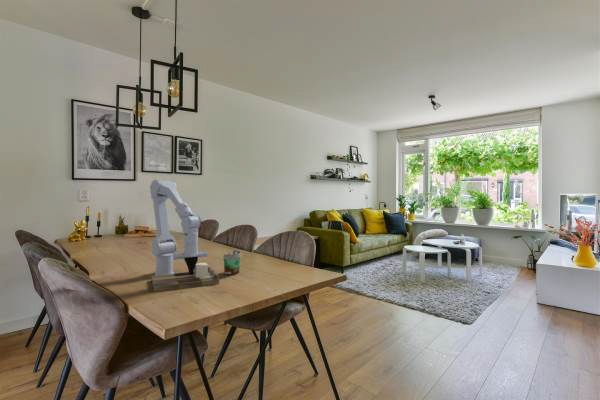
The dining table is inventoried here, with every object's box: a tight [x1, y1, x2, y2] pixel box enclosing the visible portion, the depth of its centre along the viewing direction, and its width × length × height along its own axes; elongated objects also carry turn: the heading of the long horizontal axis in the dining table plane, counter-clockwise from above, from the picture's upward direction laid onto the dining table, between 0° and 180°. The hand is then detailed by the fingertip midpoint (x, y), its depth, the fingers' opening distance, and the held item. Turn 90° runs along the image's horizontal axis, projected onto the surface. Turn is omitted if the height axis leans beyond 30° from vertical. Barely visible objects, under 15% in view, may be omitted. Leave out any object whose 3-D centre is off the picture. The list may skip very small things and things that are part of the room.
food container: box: [222, 249, 243, 276], centre depth 150 cm, size 12×6×10 cm, turn 168°
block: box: [194, 262, 209, 278], centre depth 138 cm, size 5×5×5 cm
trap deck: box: [150, 266, 220, 293], centre depth 135 cm, size 18×25×4 cm
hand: (190, 274), depth 136 cm, fingers closed
